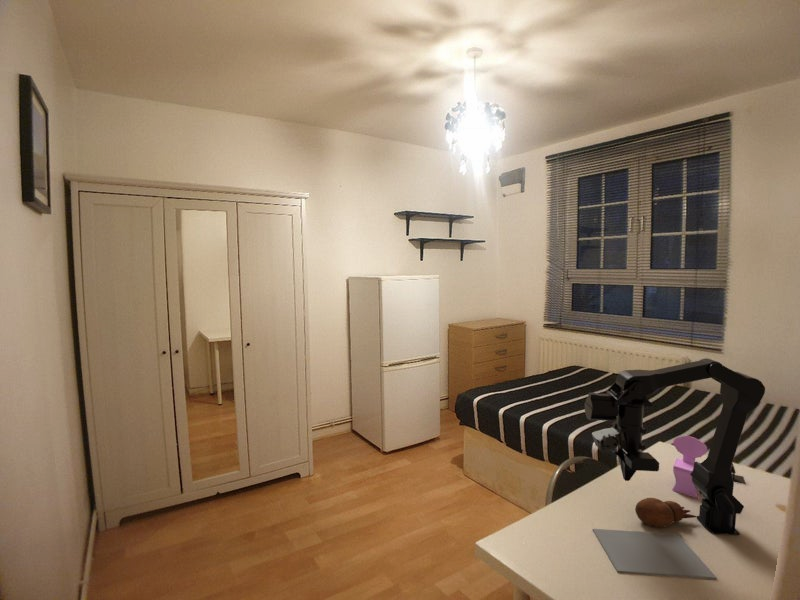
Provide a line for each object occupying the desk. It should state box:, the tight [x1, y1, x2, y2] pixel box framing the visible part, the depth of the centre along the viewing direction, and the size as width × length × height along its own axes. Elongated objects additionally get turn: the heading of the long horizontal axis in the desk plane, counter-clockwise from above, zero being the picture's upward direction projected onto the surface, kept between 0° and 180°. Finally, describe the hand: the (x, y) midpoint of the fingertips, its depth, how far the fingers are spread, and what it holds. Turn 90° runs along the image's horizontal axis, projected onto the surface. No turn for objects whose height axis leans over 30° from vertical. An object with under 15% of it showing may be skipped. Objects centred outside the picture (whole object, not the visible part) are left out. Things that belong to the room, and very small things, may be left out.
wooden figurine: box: [635, 497, 698, 528], centre depth 105 cm, size 7×6×15 cm
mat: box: [592, 528, 718, 580], centre depth 93 cm, size 20×14×1 cm
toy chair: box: [671, 435, 708, 499], centre depth 120 cm, size 8×9×15 cm
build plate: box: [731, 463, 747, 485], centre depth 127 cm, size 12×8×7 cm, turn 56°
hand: (626, 480), depth 105 cm, fingers closed
